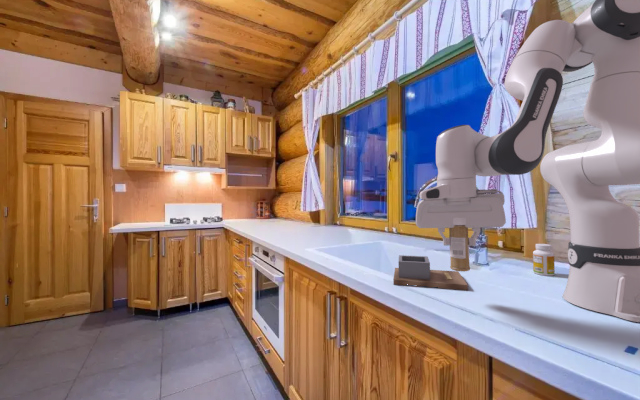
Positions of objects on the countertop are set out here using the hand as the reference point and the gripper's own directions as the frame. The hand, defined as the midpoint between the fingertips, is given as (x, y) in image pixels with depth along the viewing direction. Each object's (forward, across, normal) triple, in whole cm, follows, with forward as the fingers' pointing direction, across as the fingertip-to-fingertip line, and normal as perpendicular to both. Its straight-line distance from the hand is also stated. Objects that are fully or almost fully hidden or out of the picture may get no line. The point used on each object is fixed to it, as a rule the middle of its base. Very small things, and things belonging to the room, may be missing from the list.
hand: (459, 245), depth 68 cm
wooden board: (+14, +7, -15) cm, 21 cm away
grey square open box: (+12, +11, -15) cm, 22 cm away
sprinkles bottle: (+6, 0, 0) cm, 6 cm away
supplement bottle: (+15, -30, -31) cm, 46 cm away
